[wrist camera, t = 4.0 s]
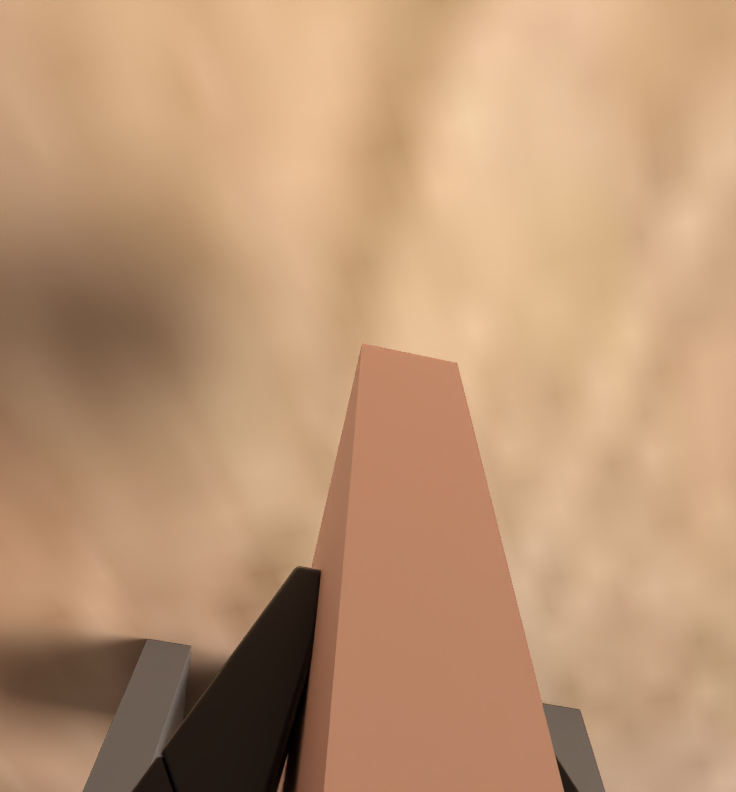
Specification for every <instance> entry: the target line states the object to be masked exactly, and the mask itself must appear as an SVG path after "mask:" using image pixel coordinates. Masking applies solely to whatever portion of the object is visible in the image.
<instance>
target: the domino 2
mask: <svg viewBox="0 0 736 792" xmlns="http://www.w3.org/2000/svg"><path fill="white" fill-rule="evenodd" d="M312 568H313V569H319V570H321V578H320V588H319V598H318V607H317V617H316V626H315V635H314V644H313V652H312V659H311V664H310V668H309V672H308V676H307V680H306V684H305V688H304V692H303V696H302V699H301V703H300V707H299V711H298V715H297V719H296V723H295V727H294V731H293V735H292V739H291V743H290V747H289V751H288V755H287V758H286V762H285V766H284V769H283V773H282V776H281V780H280V784H279V791H278V792H564V789H563V785H562V781H561V777H560V773H559V769H558V765H557V761H556V757H555V753H554V749H553V745H552V741H551V737H550V733H549V729H548V725H547V721H546V717H545V713H544V709H543V705H542V701H541V697H540V693H539V689H538V685H537V681H536V677H535V673H534V669H533V665H532V661H531V657H530V653H529V649H528V645H527V641H526V637H525V633H524V629H523V625H522V621H521V617H520V613H519V609H518V605H517V601H516V597H515V593H514V589H513V585H512V581H511V577H510V573H509V569H508V565H507V561H506V557H505V553H504V549H503V545H502V541H501V537H500V533H499V529H498V525H497V521H496V517H495V513H494V509H493V505H492V501H491V497H490V493H489V489H488V485H487V481H486V477H485V473H484V469H483V465H482V461H481V457H480V453H479V449H478V445H477V441H476V437H475V433H474V429H473V425H472V421H471V417H470V413H469V409H468V405H467V401H466V397H465V393H464V389H463V385H462V381H461V377H460V373H459V369H458V365H457V363H454V362H449V361H444V360H439V359H435V358H430V357H425V356H420V355H415V354H410V353H405V352H401V351H396V350H391V349H386V348H381V347H376V346H371V345H366V344H362V346H361V351H360V355H359V360H358V364H357V368H356V373H355V377H354V382H353V386H352V391H351V395H350V399H349V404H348V408H347V413H346V417H345V422H344V426H343V430H342V435H341V439H340V444H339V448H338V453H337V457H336V462H335V466H334V470H333V475H332V479H331V484H330V488H329V493H328V497H327V501H326V506H325V510H324V515H323V519H322V524H321V528H320V532H319V537H318V541H317V546H316V550H315V555H314V559H313V564H312Z"/></svg>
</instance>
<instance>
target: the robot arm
mask: <svg viewBox="0 0 736 792" xmlns="http://www.w3.org/2000/svg"><path fill="white" fill-rule="evenodd" d="M320 578H321V570H319V569H313V568H307V567H302V566H298V567H296V568H295V569H294V570H293V571H292V573H291V574H290V575H289V577H288V578H287V580H286V581H285V582H284V584H283V585H282V586H281V588H280V589H279V591H278V592H277V593H276V595H275V596H274V597H273V599H272V600H271V601H270V603H269V604H268V606H267V607H266V608H265V610H264V611H263V612H262V614H261V615H260V617H259V618H258V619H257V621H256V622H255V623H254V625H253V626H252V627H251V629H250V630H249V632H248V633H247V634H246V636H245V637H244V638H243V640H242V641H241V643H240V644H239V645H238V647H237V648H236V649H235V651H234V652H233V654H232V655H231V656H230V658H229V659H228V660H227V662H226V663H225V664H224V666H223V667H222V669H221V670H220V671H219V673H218V674H217V675H216V677H215V678H214V680H213V681H212V682H211V684H210V685H209V686H208V688H207V689H206V690H205V692H204V693H203V695H202V696H201V697H200V699H199V700H198V701H197V703H196V704H195V706H194V707H193V708H192V710H191V711H190V712H189V714H188V715H187V716H186V718H185V719H184V721H183V722H182V723H181V725H180V726H179V727H178V729H177V730H176V732H175V733H174V734H173V736H172V737H171V738H170V740H169V741H168V742H167V744H166V745H165V747H164V748H163V749H162V751H161V754H160V757H157V758H155V760H154V761H153V762H152V764H151V765H150V767H149V768H148V769H147V771H146V772H145V773H144V775H143V776H142V777H141V779H140V780H139V782H138V783H137V784H136V786H135V787H134V788H133V790H132V791H131V792H277V791H278V787H279V784H280V780H281V776H282V773H283V769H284V766H285V762H286V758H287V755H288V751H289V747H290V743H291V739H292V735H293V731H294V727H295V723H296V719H297V715H298V711H299V707H300V703H301V699H302V696H303V692H304V688H305V684H306V680H307V676H308V672H309V668H310V664H311V659H312V652H313V644H314V635H315V626H316V617H317V607H318V598H319V588H320ZM554 753H555V752H554ZM555 757H556V761H557V765H558V769H559V773H560V777H561V781H562V785H563V789H564V792H579V790H578V788H577V787H576V785H575V784H574V782H573V781H572V779H571V777H570V776H569V774H568V773H567V771H566V770H565V768H564V766H563V765H562V763H561V762H560V760H559V759H558V757H557V755H556V754H555Z"/></svg>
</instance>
